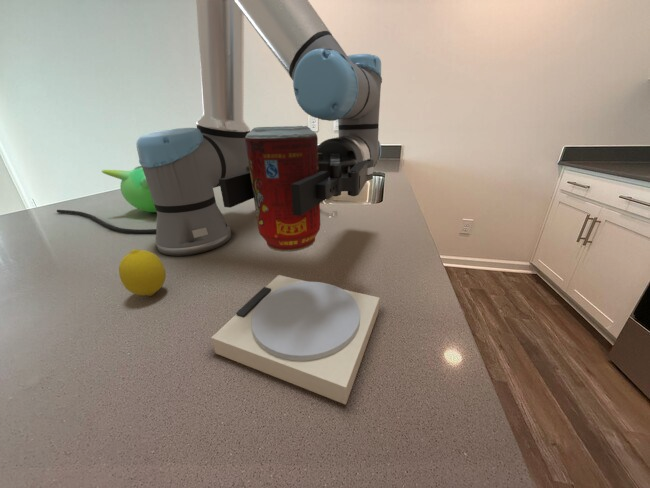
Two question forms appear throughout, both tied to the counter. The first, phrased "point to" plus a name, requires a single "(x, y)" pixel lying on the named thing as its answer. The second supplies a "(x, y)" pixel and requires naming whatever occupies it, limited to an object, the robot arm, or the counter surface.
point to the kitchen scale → (302, 334)
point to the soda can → (282, 184)
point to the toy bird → (134, 188)
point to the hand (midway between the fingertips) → (258, 196)
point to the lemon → (142, 272)
